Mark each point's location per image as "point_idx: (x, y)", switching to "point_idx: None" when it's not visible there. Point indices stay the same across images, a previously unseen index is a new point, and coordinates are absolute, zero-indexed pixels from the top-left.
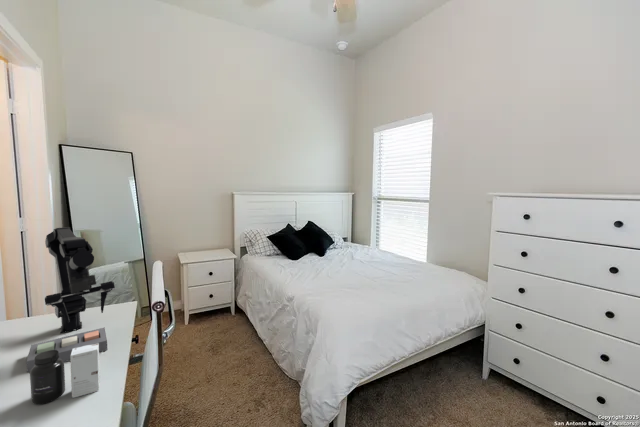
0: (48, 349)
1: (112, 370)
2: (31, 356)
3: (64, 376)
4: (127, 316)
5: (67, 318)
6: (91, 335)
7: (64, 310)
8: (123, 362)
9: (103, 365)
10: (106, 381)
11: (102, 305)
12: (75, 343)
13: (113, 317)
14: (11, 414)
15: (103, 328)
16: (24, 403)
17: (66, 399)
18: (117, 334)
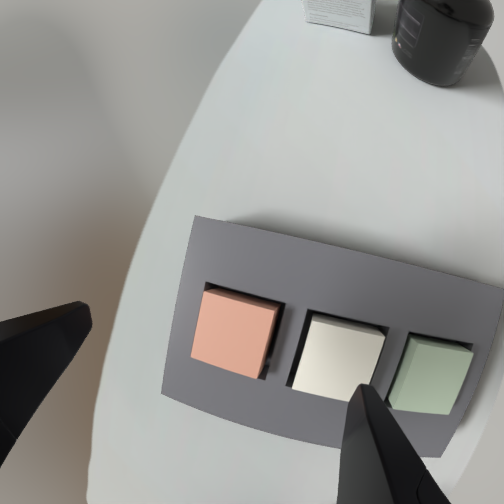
0: (431, 344)
1: (257, 54)
2: (485, 329)
3: (397, 8)
4: (98, 452)
5: (375, 409)
6: (235, 319)
7: (409, 497)
8: (214, 78)
9: (268, 101)
10: (289, 18)
11: (26, 322)
12: (321, 318)
13: (133, 486)
14: (487, 64)
15: (167, 386)
16: (475, 80)
17: (386, 18)
18: (144, 347)
